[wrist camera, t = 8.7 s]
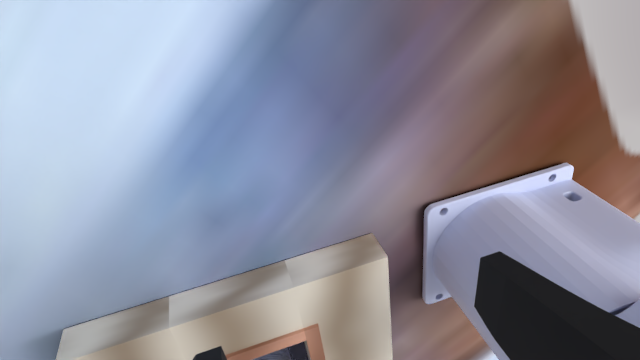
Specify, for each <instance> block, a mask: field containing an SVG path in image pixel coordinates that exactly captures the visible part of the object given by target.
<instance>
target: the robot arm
mask: <svg viewBox="0 0 640 360" xmlns="http://www.w3.org/2000/svg"><path fill="white" fill-rule="evenodd" d="M573 171H574V168H573V166H572V165H570V164H568V163H563V164H560V165H557V166H553V167H550V168H547V169H544V170H540V171H537V172H534V173H530V174H527V175H524V176H521V177H517V178H514V179H511V180H508V181H504V182H501V183H498V184H495V185H491V186H488V187H485V188H482V189H478V190H475V191H472V192H468V193H465V194H462V195H459V196H455V197H452V198H449V199H446V200H442V201H439V202H436V203H433V204H430V205H429V206H428V207H427V208H426V209H425V212H424V245H423V295H422V298H423V300H424V302H425V303H426V304H432V303H435V302H438V301H441V300H444V299H447V298H449V297H452V298H453V299H454V300H455V302H456V303H457V304H458V306H459V307H460V308H461V310H462V311H463V312H464V314H465V315H466V316H467V318H468V319H469V320H470V322H471V323H472V324H473V326H474V327H475V328H476V330H477V331H478V332H479V334H480V335H481V336H482V338H483V339H484V340H485V342H486V343H487V344H488V346H489V347H490V348H491V350H492V351H493V352H494V354H495V355H496V356H497V358H498V359H499V360H640V223H638V222H637V221H635V220H634V219H632V218H631V217H629V216H627V215H626V214H624V213H623V212H621V211H620V210H618V209H617V208H615V207H613V206H612V205H610V204H609V203H607V202H606V201H604V200H603V199H601V198H600V197H598V196H596V195H595V194H593V193H592V192H590V191H589V190H587V189H586V188H584V187H582V186H581V185H579V184H578V183H576V182H575V181H573V180H572V175H573ZM443 208H444V209H443ZM441 209H443V210H441ZM193 360H227V358H226V356H225V354H224V351H223V349H222V347H221V346H219V347H216V348H213V349H210V350H207V351H205V352H202V353H199V354H196V355H195V357H194V358H193Z"/></svg>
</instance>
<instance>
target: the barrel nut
mask: <svg viewBox="0 0 640 360" xmlns="http://www.w3.org/2000/svg"><path fill="white" fill-rule="evenodd" d="M252 360H292V359H291V356H290V352H289V349H288V348H287V347H286V348H284V349H281V350H278V351H275V352H272V353H269V354H267V355H264V356H261V357H258V358H255V359H252Z"/></svg>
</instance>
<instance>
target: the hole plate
mask: <svg viewBox="0 0 640 360" xmlns="http://www.w3.org/2000/svg"><path fill="white" fill-rule="evenodd" d="M301 342H304V343H305V347H306V351H307V355H308V359H309V360H393V356H392V335H391V313H390V292H389V270H388V256H387V255H386V253H385V252H384V250H383V249H382V247H381V246H380V244H379V243H378V241H377V239H376V238H375V236H374V235H373V233H371V234H367V235H364V236H361V237H358V238H355V239H351V240H348V241H345V242H342V243H338V244H335V245H332V246H329V247H326V248H322V249H319V250H316V251H313V252H310V253H306V254H303V255H300V256H297V257H294V258H290V259H287V260H284V261H281V262H277V263H274V264H271V265H268V266H265V267H261V268H258V269H255V270H252V271H249V272H245V273H242V274H239V275H236V276H233V277H229V278H226V279H223V280H220V281H216V282H213V283H210V284H207V285H204V286H200V287H197V288H194V289H191V290H188V291H184V292H181V293H178V294H175V295H172V296H168V297H165V298H162V299H159V300H156V301H152V302H149V303H146V304H143V305H139V306H136V307H133V308H130V309H127V310H123V311H120V312H117V313H114V314H111V315H107V316H104V317H101V318H98V319H95V320H91V321H88V322H85V323H82V324H78V325H75V326H72V327H69V328H66V329H63V333H62V337H61V341H60V345H59V348H58V352H57V356H56V360H193V358H194V357H195V355H196V354H199V353H202V352H205V351H207V350H210V349H213V348H216V347H219V346H221V347H222V349H223V351H224V354H225V356H226V358H227V360H252V359H255V358H258V357H261V356H264V355H267V354H269V353H272V352H275V351H278V350H281V349H284V348H286V347H289V346H292V345H295V344H298V343H301Z"/></svg>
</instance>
